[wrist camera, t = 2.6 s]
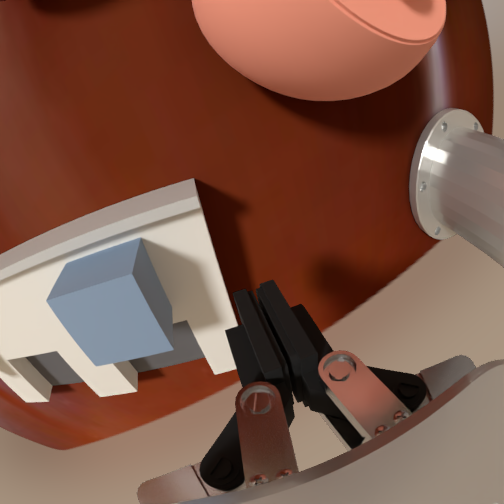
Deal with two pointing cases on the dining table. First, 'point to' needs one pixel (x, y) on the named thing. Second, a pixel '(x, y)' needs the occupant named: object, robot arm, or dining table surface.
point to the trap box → (91, 241)
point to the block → (114, 304)
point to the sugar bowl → (321, 42)
